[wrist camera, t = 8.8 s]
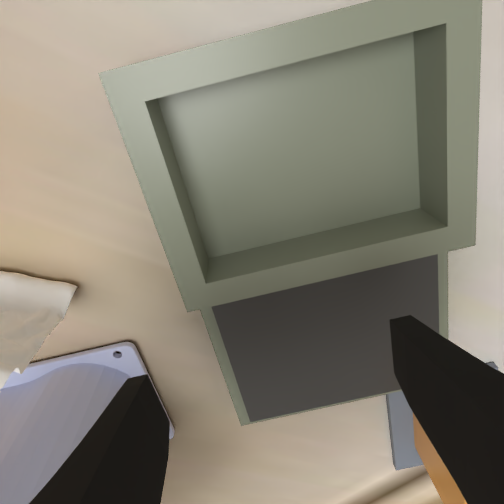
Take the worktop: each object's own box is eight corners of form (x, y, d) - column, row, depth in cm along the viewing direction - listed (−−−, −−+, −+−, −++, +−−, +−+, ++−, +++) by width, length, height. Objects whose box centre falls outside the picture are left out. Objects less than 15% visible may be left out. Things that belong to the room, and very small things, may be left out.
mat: (393, 463, 28) (396, 470, 27) (385, 385, 24) (388, 391, 24) (488, 444, 27) (492, 450, 27) (493, 361, 24) (498, 367, 24)
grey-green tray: (240, 410, 25) (242, 459, 21) (123, 73, 16) (98, 73, 13) (438, 366, 24) (470, 411, 21) (430, -8, 15) (483, -30, 12)
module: (414, 446, 26) (469, 555, 20) (411, 395, 24) (471, 499, 18) (471, 434, 26) (543, 541, 20) (473, 381, 24) (555, 482, 18)
